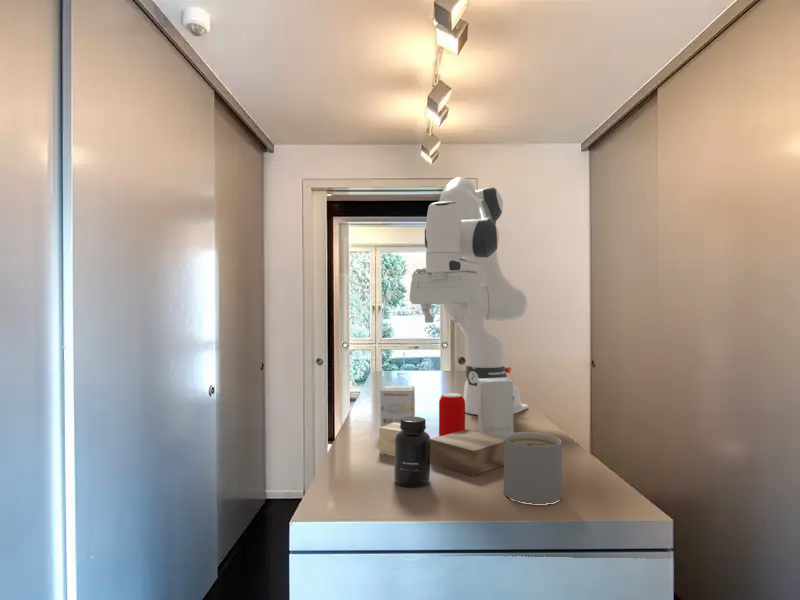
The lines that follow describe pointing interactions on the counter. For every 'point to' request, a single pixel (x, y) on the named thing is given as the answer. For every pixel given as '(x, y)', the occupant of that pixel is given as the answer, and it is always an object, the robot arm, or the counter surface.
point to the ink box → (396, 403)
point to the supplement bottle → (412, 453)
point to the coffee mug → (533, 467)
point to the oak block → (388, 438)
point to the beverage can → (451, 413)
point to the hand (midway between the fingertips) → (443, 322)
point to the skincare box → (495, 406)
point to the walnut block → (467, 452)
